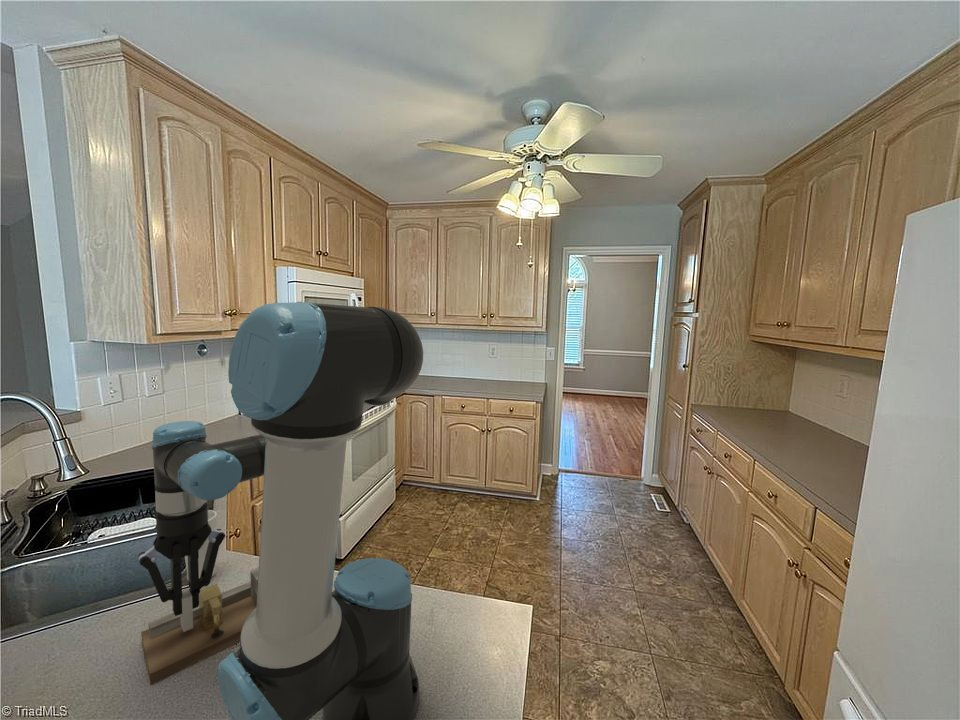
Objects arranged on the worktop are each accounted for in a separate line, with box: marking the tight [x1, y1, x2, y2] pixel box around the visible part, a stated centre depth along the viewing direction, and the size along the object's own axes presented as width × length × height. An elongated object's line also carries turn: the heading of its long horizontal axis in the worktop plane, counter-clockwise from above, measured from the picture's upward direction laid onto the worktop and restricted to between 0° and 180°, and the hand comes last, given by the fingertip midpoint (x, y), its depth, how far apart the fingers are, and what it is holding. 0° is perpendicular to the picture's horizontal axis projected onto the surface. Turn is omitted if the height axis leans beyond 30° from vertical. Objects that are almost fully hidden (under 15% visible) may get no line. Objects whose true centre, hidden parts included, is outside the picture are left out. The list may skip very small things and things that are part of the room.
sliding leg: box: [199, 583, 223, 635], centre depth 76 cm, size 7×3×6 cm, turn 46°
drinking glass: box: [184, 509, 218, 583], centre depth 91 cm, size 7×7×15 cm
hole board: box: [140, 567, 259, 686], centre depth 78 cm, size 12×24×8 cm, turn 136°
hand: (186, 625), depth 74 cm, fingers closed
